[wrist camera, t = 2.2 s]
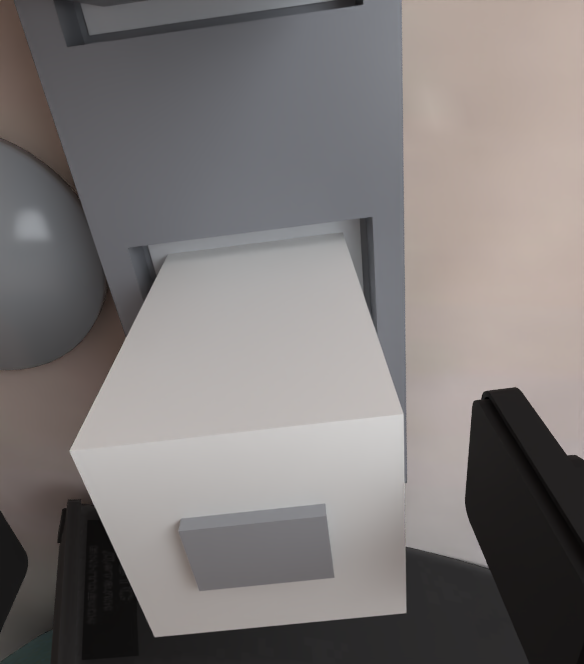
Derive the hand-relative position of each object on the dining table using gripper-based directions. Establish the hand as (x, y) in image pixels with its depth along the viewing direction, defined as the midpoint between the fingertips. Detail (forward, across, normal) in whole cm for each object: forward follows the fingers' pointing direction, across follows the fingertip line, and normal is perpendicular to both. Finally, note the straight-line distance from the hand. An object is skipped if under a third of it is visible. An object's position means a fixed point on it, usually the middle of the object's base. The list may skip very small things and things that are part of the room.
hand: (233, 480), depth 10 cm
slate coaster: (+9, +8, -2) cm, 12 cm away
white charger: (+7, -1, 0) cm, 7 cm away
